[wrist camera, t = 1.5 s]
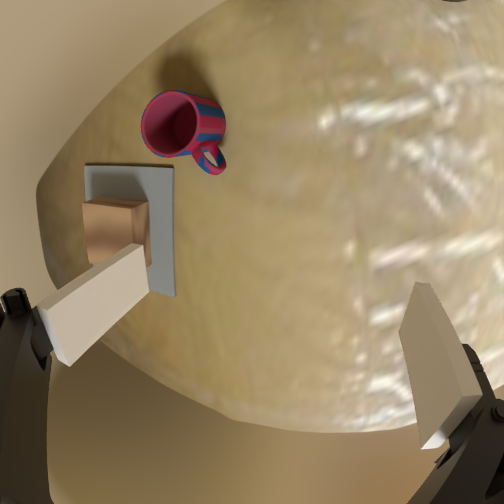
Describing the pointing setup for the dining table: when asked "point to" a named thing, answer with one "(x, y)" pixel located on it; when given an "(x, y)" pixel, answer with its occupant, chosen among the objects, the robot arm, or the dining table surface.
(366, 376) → the dining table surface
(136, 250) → the robot arm
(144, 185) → the mat
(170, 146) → the mug
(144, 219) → the base block
